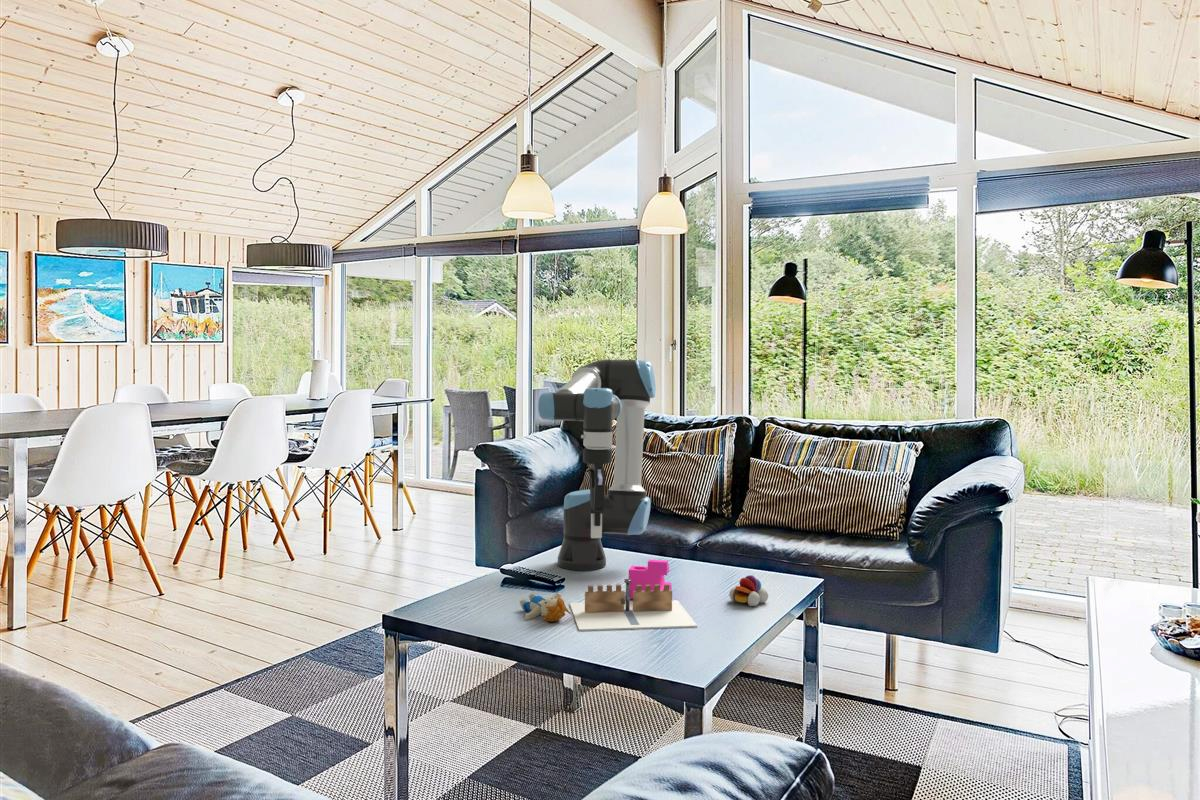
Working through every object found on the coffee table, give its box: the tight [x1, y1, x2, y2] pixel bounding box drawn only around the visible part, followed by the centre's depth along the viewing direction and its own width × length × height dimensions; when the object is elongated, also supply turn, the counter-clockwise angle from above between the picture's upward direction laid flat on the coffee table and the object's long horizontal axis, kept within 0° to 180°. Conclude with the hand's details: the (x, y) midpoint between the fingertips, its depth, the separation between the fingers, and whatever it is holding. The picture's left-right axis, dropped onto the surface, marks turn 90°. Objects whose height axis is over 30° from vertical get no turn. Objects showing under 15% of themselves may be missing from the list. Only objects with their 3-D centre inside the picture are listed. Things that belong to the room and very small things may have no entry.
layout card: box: [569, 599, 698, 632], centre depth 217 cm, size 21×29×1 cm
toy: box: [519, 591, 572, 622], centre depth 215 cm, size 12×6×15 cm
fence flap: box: [584, 584, 626, 612], centre depth 218 cm, size 10×2×7 cm, turn 98°
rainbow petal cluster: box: [729, 575, 769, 607], centre depth 230 cm, size 8×10×7 cm
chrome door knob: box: [624, 578, 632, 611], centre depth 219 cm, size 2×2×8 cm
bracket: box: [628, 559, 673, 599], centre depth 235 cm, size 12×10×10 cm
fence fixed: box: [632, 584, 673, 611], centre depth 220 cm, size 10×1×7 cm, turn 98°
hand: (596, 537), depth 223 cm, fingers closed
